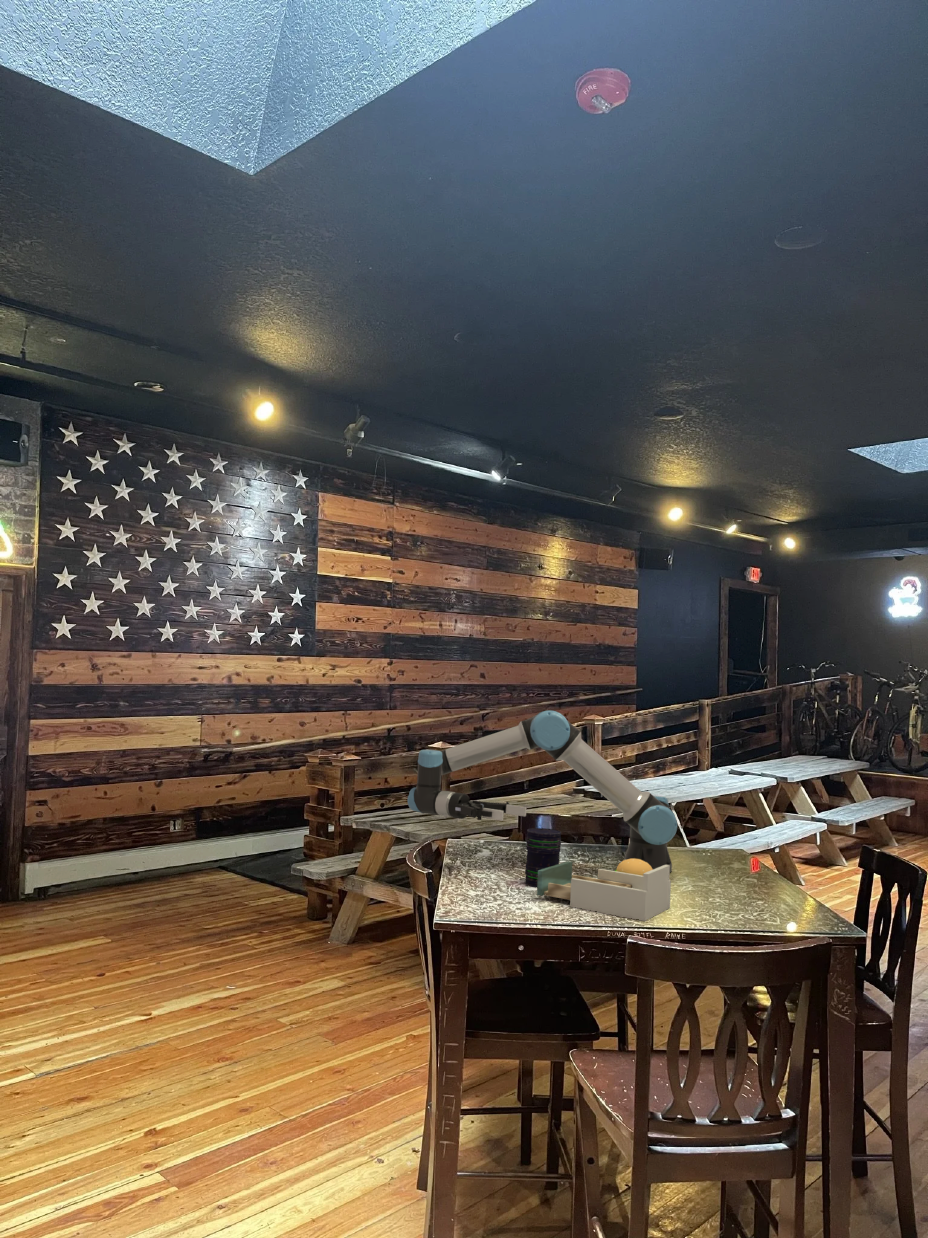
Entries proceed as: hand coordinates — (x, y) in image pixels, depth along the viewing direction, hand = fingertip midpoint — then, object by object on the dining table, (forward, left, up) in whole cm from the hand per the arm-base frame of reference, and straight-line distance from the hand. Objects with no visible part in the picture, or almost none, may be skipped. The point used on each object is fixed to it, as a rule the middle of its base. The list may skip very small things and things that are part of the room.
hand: (514, 813), depth 254 cm
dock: (-20, +33, -19) cm, 43 cm away
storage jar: (-7, +7, -19) cm, 21 cm away
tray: (-13, +26, -17) cm, 34 cm away
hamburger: (-32, +14, -19) cm, 40 cm away
